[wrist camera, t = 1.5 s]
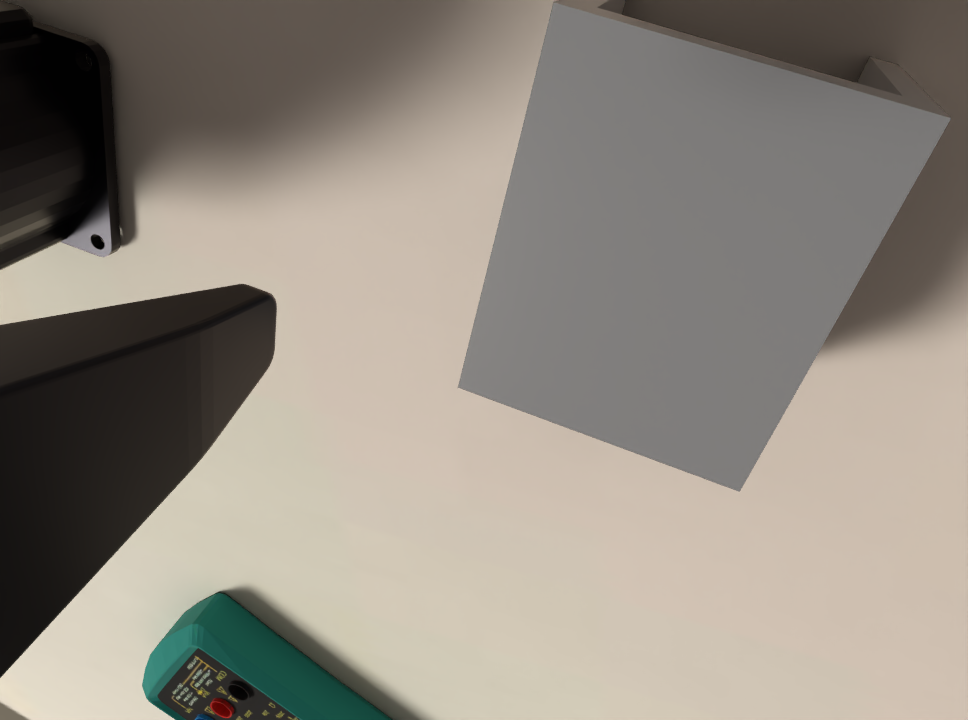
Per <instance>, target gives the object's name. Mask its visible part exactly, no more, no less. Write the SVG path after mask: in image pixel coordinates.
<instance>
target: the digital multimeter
mask: <svg viewBox="0 0 968 720" xmlns="http://www.w3.org/2000/svg"><path fill="white" fill-rule="evenodd" d="M142 687H143V690H144V692H145V695H146V698H147V699H148V701H149V702H151V703H152V704H153V705H155V706H156V707H157V708H159V709H160V710H162V711H163V712H165V713H166V714H168V715H169V716H171V717H172V718H174V719H175V720H392V719H391V718H389V717H388V716H387V715H385V714H384V713H383V712H381V711H380V710H378V709H377V708H376V707H374V706H373V705H372V704H370V703H369V702H367V701H366V700H365V699H363V698H362V697H361V696H359V695H358V694H356V693H355V692H354V691H352V690H351V689H349V688H348V687H347V686H345V685H344V684H343V683H341V682H340V681H338V680H337V679H336V678H334V677H333V676H332V675H330V674H329V673H328V672H326V671H325V670H324V669H323V668H321V667H320V666H319V665H317V664H316V663H315V662H313V661H312V660H311V659H309V658H308V657H307V656H306V655H304V654H303V653H302V652H300V651H299V650H298V649H296V648H295V647H294V646H292V645H291V644H290V643H288V642H287V641H286V640H284V639H283V638H282V637H280V636H279V635H277V634H276V633H275V632H274V631H272V630H271V629H270V628H269V627H267V626H266V625H265V624H264V623H262V622H261V621H260V620H258V619H257V618H256V617H255V616H253V615H252V614H251V613H250V612H248V611H247V610H246V609H245V608H243V607H242V606H241V605H239V604H238V603H237V602H235V601H234V600H233V599H231V598H230V597H229V596H227V595H225V594H222V593H216V594H214V595H212V596H210V597H208V598H206V599H205V600H203V601H201V602H199V603H197V604H196V605H194V606H193V607H192V608H190V609H189V610H187V611H186V612H185V613H184V614H183V615H182V616H181V617H180V619H179V620H178V621H177V622H176V623H175V625H174V626H173V627H172V628H171V629H170V631H169V632H168V633H167V634H166V636H165V637H164V638H163V639H162V640H161V642H160V643H159V644H158V645H157V647H156V648H155V649H154V651H153V652H152V653H151V655H150V657H149V660H148V663H147V666H146V668H145V673H144V679H143V684H142Z"/></svg>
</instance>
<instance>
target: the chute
mask: <svg viewBox="0 0 968 720" xmlns="http://www.w3.org/2000/svg"><path fill="white" fill-rule="evenodd" d="M625 2H626V0H558V1H555V2H554V3H553V7H552V11H551V15H550V19H549V23H548V27H547V31H546V35H545V39H544V43H543V47H542V51H541V55H540V59H539V63H538V67H537V71H536V75H535V79H534V83H533V87H532V91H531V95H530V99H529V103H528V107H527V111H526V115H525V119H524V123H523V127H522V131H521V136H520V140H519V144H518V148H517V152H516V156H515V160H514V164H513V168H512V172H511V176H510V180H509V184H508V188H507V192H506V196H505V200H504V204H503V208H502V212H501V216H500V220H499V224H498V228H497V232H496V236H495V240H494V244H493V248H492V252H491V256H490V260H489V264H488V268H487V272H486V276H485V280H484V285H483V289H482V293H481V297H480V301H479V305H478V309H477V313H476V317H475V321H474V325H473V329H472V333H471V337H470V341H469V345H468V349H467V353H466V357H465V361H464V365H463V369H462V373H461V377H460V381H459V385H458V388H461V389H463V390H466V391H469V392H472V393H474V394H477V395H480V396H482V397H485V398H488V399H490V400H493V401H496V402H499V403H501V404H504V405H507V406H509V407H512V408H515V409H517V410H520V411H523V412H526V413H528V414H531V415H534V416H536V417H539V418H542V419H545V420H547V421H550V422H553V423H555V424H558V425H561V426H563V427H566V428H569V429H572V430H574V431H577V432H580V433H582V434H585V435H588V436H590V437H593V438H596V439H599V440H601V441H604V442H607V443H609V444H612V445H615V446H617V447H620V448H623V449H626V450H628V451H631V452H634V453H636V454H639V455H642V456H645V457H647V458H650V459H653V460H655V461H658V462H661V463H663V464H666V465H669V466H672V467H674V468H677V469H680V470H682V471H685V472H688V473H690V474H693V475H696V476H699V477H701V478H704V479H707V480H709V481H712V482H715V483H717V484H720V485H723V486H726V487H728V488H731V489H734V490H736V491H739V492H740V490H741V488H742V487H743V485H744V483H745V481H746V480H747V478H748V476H749V474H750V472H751V471H752V469H753V467H754V465H755V464H756V462H757V460H758V458H759V457H760V455H761V453H762V451H763V450H764V448H765V446H766V444H767V442H768V441H769V439H770V437H771V435H772V434H773V432H774V430H775V428H776V427H777V425H778V423H779V421H780V420H781V418H782V416H783V414H784V412H785V411H786V409H787V407H788V405H789V404H790V402H791V400H792V398H793V397H794V395H795V393H796V391H797V390H798V388H799V386H800V384H801V383H802V381H803V379H804V377H805V375H806V374H807V372H808V370H809V368H810V367H811V365H812V363H813V361H814V360H815V358H816V356H817V354H818V353H819V351H820V349H821V347H822V345H823V344H824V342H825V340H826V338H827V337H828V335H829V333H830V331H831V330H832V328H833V326H834V324H835V323H836V321H837V319H838V317H839V315H840V314H841V312H842V310H843V308H844V307H845V305H846V303H847V301H848V300H849V298H850V296H851V294H852V293H853V291H854V289H855V287H856V285H857V284H858V282H859V280H860V278H861V277H862V275H863V273H864V271H865V270H866V268H867V266H868V264H869V263H870V261H871V259H872V257H873V255H874V254H875V252H876V250H877V248H878V247H879V245H880V243H881V241H882V240H883V238H884V236H885V234H886V233H887V231H888V229H889V227H890V225H891V224H892V222H893V220H894V218H895V217H896V215H897V213H898V211H899V210H900V208H901V206H902V204H903V203H904V201H905V199H906V197H907V195H908V194H909V192H910V190H911V188H912V187H913V185H914V183H915V181H916V180H917V178H918V176H919V174H920V173H921V171H922V169H923V167H924V165H925V164H926V162H927V160H928V158H929V157H930V155H931V153H932V151H933V150H934V148H935V146H936V144H937V143H938V141H939V139H940V137H941V135H942V134H943V132H944V130H945V128H946V127H947V125H948V123H949V121H950V120H951V118H950V117H949V115H948V114H947V113H946V112H945V111H944V110H943V109H942V108H941V107H940V106H939V105H938V104H937V103H936V102H935V101H934V100H933V99H932V98H931V97H930V96H929V95H928V94H927V93H926V92H925V91H924V90H923V89H922V88H921V87H920V86H919V85H918V84H917V83H916V82H915V81H914V80H913V79H912V78H911V77H910V76H909V75H908V74H907V73H906V72H905V71H904V70H903V69H902V68H901V67H900V66H899V65H897V64H893V63H890V62H886V61H883V60H879V59H876V58H872V57H869V59H868V61H867V63H866V65H865V67H864V69H863V72H862V74H861V76H860V78H859V80H858V82H857V83H855V82H852V81H848V80H845V79H841V78H838V77H834V76H831V75H828V74H824V73H821V72H817V71H814V70H810V69H807V68H803V67H800V66H797V65H793V64H790V63H786V62H783V61H779V60H776V59H772V58H769V57H766V56H762V55H759V54H755V53H752V52H748V51H745V50H741V49H738V48H735V47H731V46H728V45H724V44H721V43H717V42H714V41H710V40H707V39H704V38H700V37H697V36H693V35H690V34H686V33H683V32H679V31H676V30H673V29H669V28H666V27H662V26H659V25H655V24H652V23H648V22H645V21H642V20H638V19H635V18H631V17H628V16H624V15H622V12H623V8H624V5H625Z"/></svg>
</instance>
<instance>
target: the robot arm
mask: <svg viewBox="0 0 968 720" xmlns="http://www.w3.org/2000/svg"><path fill="white" fill-rule="evenodd" d="M86 54H87V55H88V56H89V58H90V59H91V63H92V66H90V64H89V63H88V62H87V58H86ZM100 237H101V238H102V239H103V240H104V242H103V241H102V240H101V238H100ZM59 242H62V243H65V244H67V245H70V246H73V247H75V248H78V249H81V250H84V251H86V252H89V253H92V254H94V255H97V256H101V257H105V256H108V255H110V254H112V253H114V252H116V251H117V250H118V249H119V248H120V227H119V211H118V194H117V177H116V160H115V143H114V126H113V109H112V93H111V76H110V63H109V58H108V55H107V54H106V52H105V50H104V49H103V47H102V46H101V45H100V44H99V43H97V42H95V41H93V40H90V39H87V38H84V37H81V36H78V35H75V34H72V33H69V32H66V31H63V30H60V29H57V28H54V27H51V26H48V25H45V24H41V23H38V22H35V21H33V20H32V16H31V15H30V14H29V13H28V12H27V11H26V10H25V9H23V8H22V7H19V6H16V5H13V4H10V3H7V2H4V1H1V0H0V270H2V269H4V268H6V267H8V266H10V265H12V264H14V263H16V262H19V261H21V260H23V259H25V258H27V257H29V256H31V255H33V254H36V253H38V252H40V251H42V250H44V249H46V248H48V247H50V246H53V245H55V244H57V243H59ZM276 312H277V305H276V300H275V298H274V297H273V295H272V294H270V293H268V292H265V291H263V290H260V289H257V288H255V287H252V286H249V285H246V284H238V285H232V286H226V287H220V288H214V289H209V290H203V291H197V292H191V293H185V294H179V295H174V296H168V297H162V298H156V299H150V300H144V301H138V302H133V303H127V304H121V305H115V306H109V307H103V308H97V309H92V310H86V311H80V312H74V313H68V314H62V315H56V316H51V317H45V318H39V319H33V320H27V321H21V322H15V323H10V324H4V325H0V678H1V677H2V676H3V674H4V673H5V672H6V671H7V670H8V669H9V668H10V667H11V666H12V665H13V664H14V662H15V661H16V660H17V659H18V658H19V657H20V656H21V655H22V654H23V653H24V652H25V651H26V649H27V648H28V647H29V646H30V645H31V644H32V643H33V642H34V641H35V640H36V639H37V637H38V636H39V635H40V634H41V633H42V632H43V631H44V630H45V629H46V628H47V627H48V626H49V624H50V623H51V622H52V621H53V620H54V619H55V618H56V617H57V616H58V615H59V614H60V612H61V611H62V610H63V609H64V608H65V607H66V606H67V605H68V604H69V603H70V602H71V601H72V599H73V598H74V597H75V596H76V595H77V594H78V593H79V592H80V591H81V590H82V589H83V587H84V586H85V585H86V584H87V583H88V582H89V581H90V580H91V579H92V578H93V577H94V576H95V574H96V573H97V572H98V571H99V570H100V569H101V568H102V567H103V566H104V565H105V564H106V563H107V561H108V560H109V559H110V558H111V557H112V556H113V555H114V554H115V553H116V552H117V551H118V549H119V548H120V547H121V546H122V545H123V544H124V543H125V542H126V541H127V540H128V539H129V538H130V536H131V535H132V534H133V533H134V532H135V531H136V530H137V529H138V528H139V527H140V526H141V524H142V523H143V522H144V521H145V520H146V519H147V518H148V517H149V516H150V515H151V514H152V513H153V511H154V510H155V509H156V508H157V507H158V506H159V505H160V504H161V503H162V502H163V501H164V499H165V498H166V497H167V496H168V495H169V494H170V493H171V492H172V491H173V490H174V489H175V488H176V486H177V485H178V484H179V483H180V482H181V481H182V480H183V479H184V478H185V477H186V476H187V475H188V473H189V472H190V471H191V470H192V469H193V468H194V467H195V465H196V464H197V463H198V462H199V461H200V460H201V459H202V457H203V456H204V455H205V454H206V452H207V451H208V450H209V449H210V447H211V446H212V445H213V443H214V442H215V441H216V439H217V438H218V437H219V435H220V434H221V432H222V431H223V430H224V428H225V427H226V426H227V424H228V423H229V421H230V420H231V419H232V417H233V416H234V415H235V413H236V412H237V410H238V409H239V408H240V406H241V405H242V404H243V402H244V401H245V400H246V398H247V397H248V395H249V394H250V393H251V391H252V390H253V389H254V387H255V386H256V384H257V383H258V382H259V380H260V379H261V378H262V376H263V375H264V373H265V372H266V371H267V369H268V368H269V366H270V364H271V361H272V359H273V355H274V350H275V332H276Z"/></svg>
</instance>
